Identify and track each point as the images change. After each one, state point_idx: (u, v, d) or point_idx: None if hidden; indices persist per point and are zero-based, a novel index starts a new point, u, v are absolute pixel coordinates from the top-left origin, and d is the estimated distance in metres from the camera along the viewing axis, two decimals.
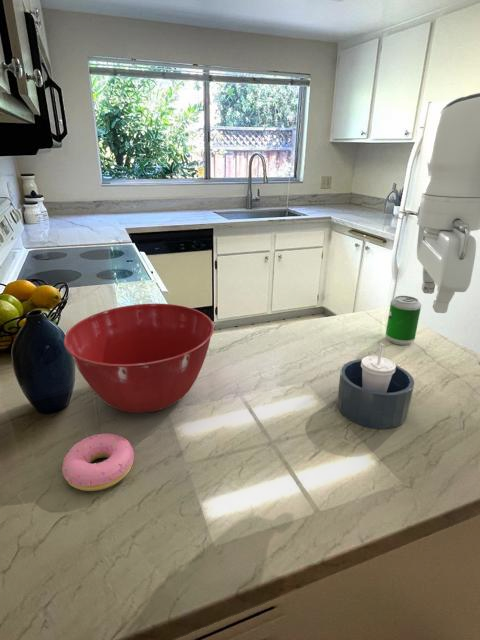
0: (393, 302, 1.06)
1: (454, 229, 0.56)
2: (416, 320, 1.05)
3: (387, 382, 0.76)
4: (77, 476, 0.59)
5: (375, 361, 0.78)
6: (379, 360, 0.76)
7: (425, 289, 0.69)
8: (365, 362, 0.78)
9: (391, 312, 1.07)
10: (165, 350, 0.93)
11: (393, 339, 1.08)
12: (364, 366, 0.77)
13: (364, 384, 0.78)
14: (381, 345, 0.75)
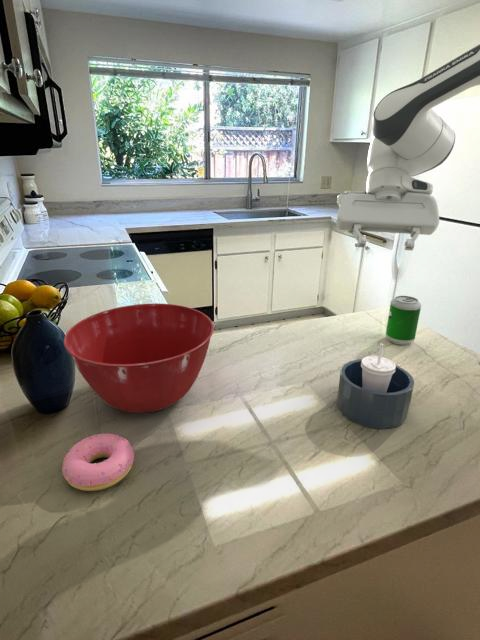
0: (393, 302, 1.06)
1: None
2: (416, 320, 1.05)
3: (387, 382, 0.76)
4: (77, 476, 0.59)
5: (375, 361, 0.78)
6: (379, 360, 0.76)
7: (405, 247, 0.82)
8: (365, 362, 0.78)
9: (391, 312, 1.07)
10: (165, 350, 0.93)
11: (393, 339, 1.08)
12: (364, 366, 0.77)
13: (364, 384, 0.78)
14: (381, 345, 0.75)
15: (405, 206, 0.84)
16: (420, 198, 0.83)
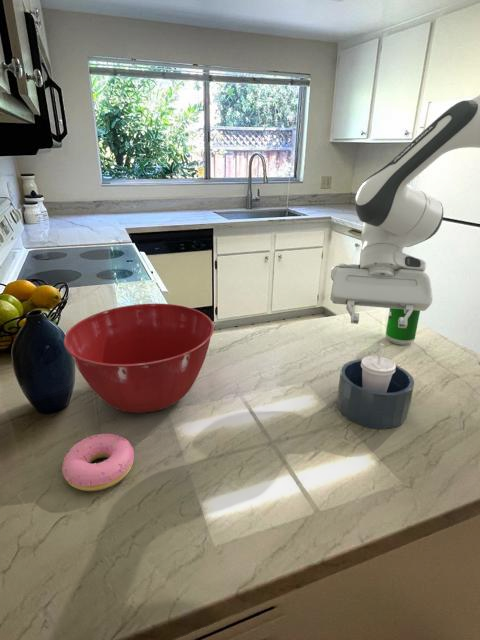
0: None
1: None
2: (416, 320, 1.05)
3: (387, 382, 0.76)
4: (77, 476, 0.59)
5: (375, 361, 0.78)
6: (379, 360, 0.76)
7: (398, 324, 0.82)
8: (365, 362, 0.78)
9: (391, 312, 1.07)
10: (165, 350, 0.93)
11: (393, 339, 1.08)
12: (364, 366, 0.77)
13: (364, 384, 0.78)
14: (381, 345, 0.75)
15: (398, 282, 0.84)
16: (413, 275, 0.83)
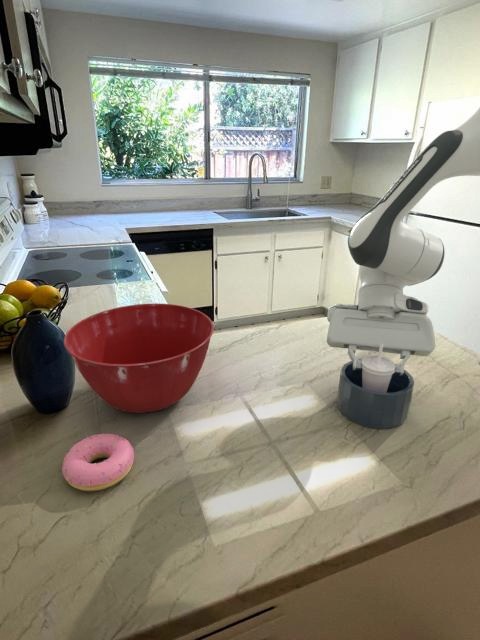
0: None
1: None
2: None
3: (387, 382, 0.76)
4: (77, 476, 0.59)
5: (375, 361, 0.78)
6: (379, 360, 0.76)
7: None
8: (365, 362, 0.78)
9: None
10: (165, 350, 0.93)
11: None
12: (364, 366, 0.77)
13: (364, 384, 0.78)
14: (381, 345, 0.75)
15: (399, 326, 0.79)
16: (415, 319, 0.78)
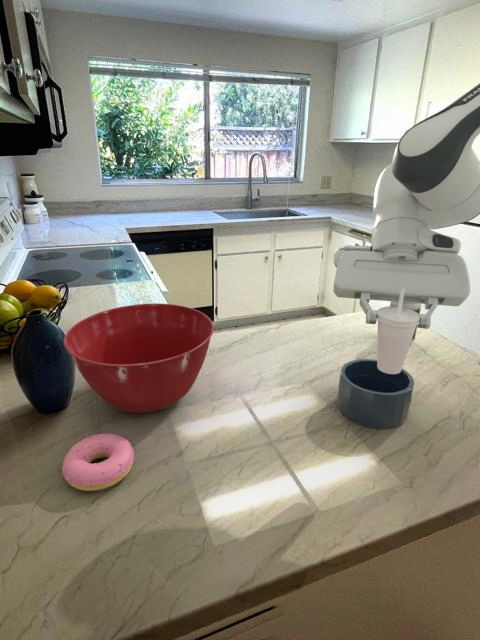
0: (393, 302, 1.06)
1: None
2: None
3: (409, 337, 0.61)
4: (77, 476, 0.59)
5: (394, 311, 0.62)
6: (399, 309, 0.61)
7: None
8: (381, 313, 0.62)
9: None
10: (165, 350, 0.93)
11: None
12: (380, 317, 0.61)
13: (380, 341, 0.63)
14: (402, 289, 0.60)
15: (423, 269, 0.63)
16: (444, 259, 0.62)
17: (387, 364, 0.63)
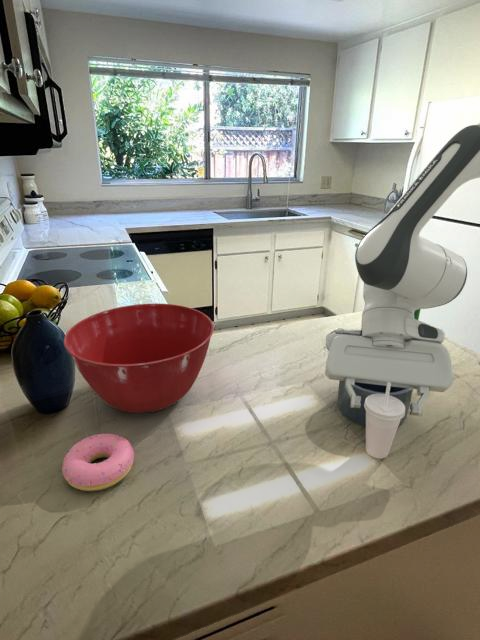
0: None
1: None
2: None
3: (395, 427, 0.65)
4: (77, 476, 0.59)
5: (381, 402, 0.66)
6: (386, 401, 0.65)
7: None
8: (369, 403, 0.66)
9: None
10: (165, 350, 0.93)
11: None
12: (368, 408, 0.65)
13: (368, 428, 0.67)
14: (388, 384, 0.63)
15: (410, 357, 0.67)
16: (429, 348, 0.66)
17: (375, 450, 0.67)
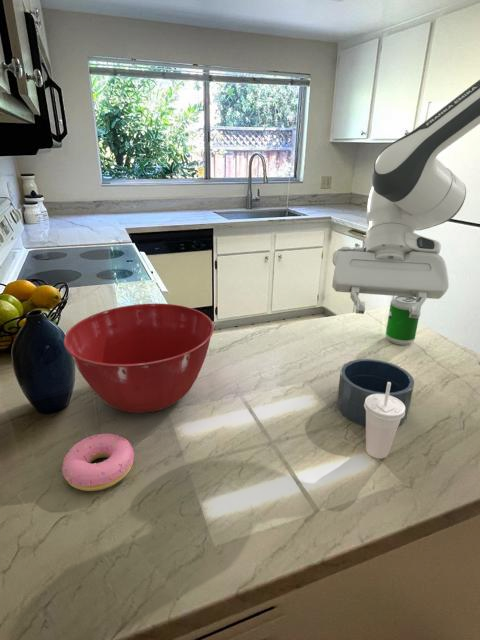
0: (393, 302, 1.06)
1: None
2: (416, 320, 1.05)
3: (395, 427, 0.65)
4: (77, 476, 0.59)
5: (381, 402, 0.66)
6: (386, 401, 0.65)
7: (410, 314, 0.72)
8: (369, 403, 0.66)
9: (391, 312, 1.07)
10: (165, 350, 0.93)
11: (393, 339, 1.08)
12: (368, 408, 0.65)
13: (368, 428, 0.67)
14: (388, 384, 0.63)
15: (409, 267, 0.74)
16: (426, 258, 0.73)
17: (375, 450, 0.67)
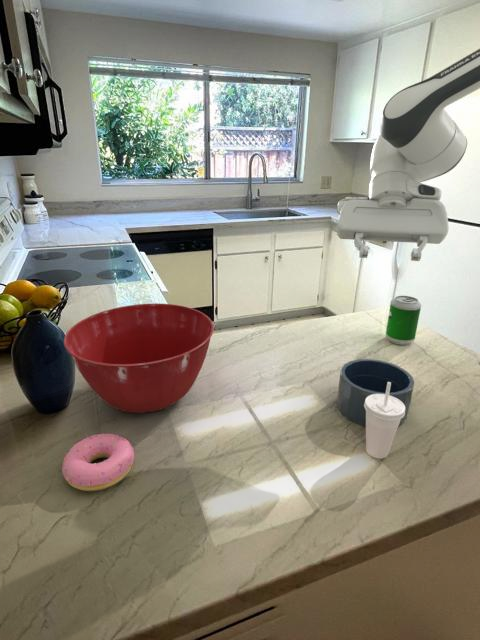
0: (393, 302, 1.06)
1: None
2: (416, 320, 1.05)
3: (395, 427, 0.65)
4: (77, 476, 0.59)
5: (381, 402, 0.66)
6: (386, 401, 0.65)
7: (411, 257, 0.76)
8: (369, 403, 0.66)
9: (391, 312, 1.07)
10: (165, 350, 0.93)
11: (393, 339, 1.08)
12: (368, 408, 0.65)
13: (368, 428, 0.67)
14: (388, 384, 0.63)
15: (411, 213, 0.77)
16: (427, 204, 0.76)
17: (375, 450, 0.67)
